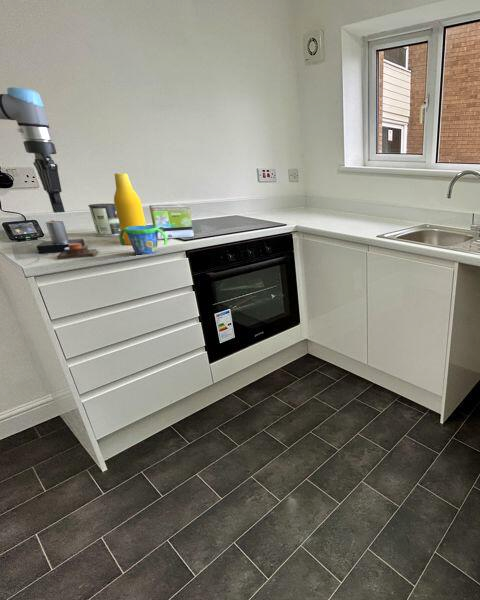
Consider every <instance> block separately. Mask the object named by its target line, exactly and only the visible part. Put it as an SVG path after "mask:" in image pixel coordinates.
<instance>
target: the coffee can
mask: <svg viewBox="0 0 480 600" xmlns="http://www.w3.org/2000/svg"><path fill="white" fill-rule="evenodd" d="M88 207H89V211H90V214H91V218H92V222H93V226H94V229H95V232H96V236H97V237H116V236H119V235H120V232H121V227H120V223H119V219H118V215H117V212H116V208H115V204H114V203H91V204H88Z"/></svg>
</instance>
